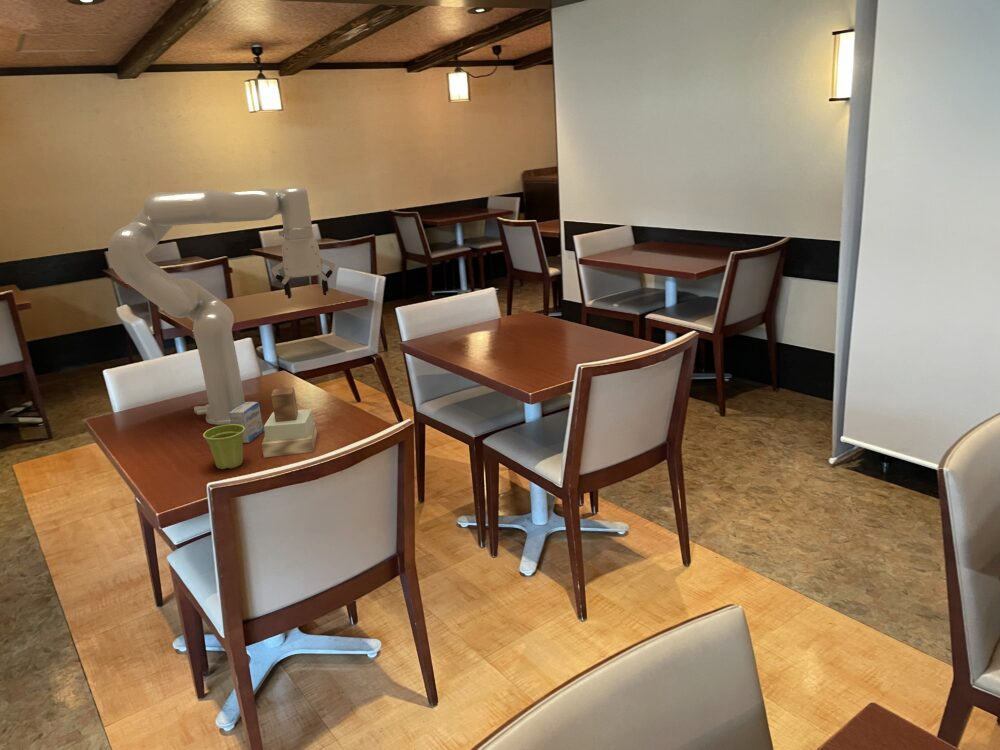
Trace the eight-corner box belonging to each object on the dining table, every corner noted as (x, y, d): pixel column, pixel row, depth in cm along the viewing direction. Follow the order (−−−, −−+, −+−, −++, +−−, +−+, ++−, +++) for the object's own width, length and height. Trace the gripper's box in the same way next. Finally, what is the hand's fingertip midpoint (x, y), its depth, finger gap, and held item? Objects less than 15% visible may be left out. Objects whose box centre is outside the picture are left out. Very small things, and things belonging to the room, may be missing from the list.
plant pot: (234, 453, 187) (228, 421, 185) (258, 460, 182) (252, 427, 179) (201, 468, 180) (194, 434, 177) (225, 475, 175) (219, 441, 172)
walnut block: (275, 422, 185) (271, 395, 183) (277, 415, 190) (273, 389, 188) (296, 419, 186) (292, 393, 184) (298, 412, 191) (294, 387, 189)
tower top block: (266, 441, 184) (263, 426, 183) (275, 426, 194) (272, 412, 193) (307, 438, 185) (304, 423, 184) (313, 423, 194) (311, 409, 193)
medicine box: (249, 443, 193) (243, 412, 190) (233, 443, 194) (227, 411, 191) (264, 431, 200) (259, 401, 198) (249, 431, 201) (243, 401, 199)
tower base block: (264, 459, 184) (261, 444, 183) (270, 441, 195) (268, 426, 194) (313, 453, 186) (311, 438, 184) (317, 435, 197) (315, 421, 196)
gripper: (264, 238, 199) (274, 301, 204) (330, 233, 201) (338, 295, 206) (267, 235, 206) (277, 296, 211) (331, 230, 208) (339, 290, 213)
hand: (307, 295), depth 209 cm, fingers open, 9 cm apart
